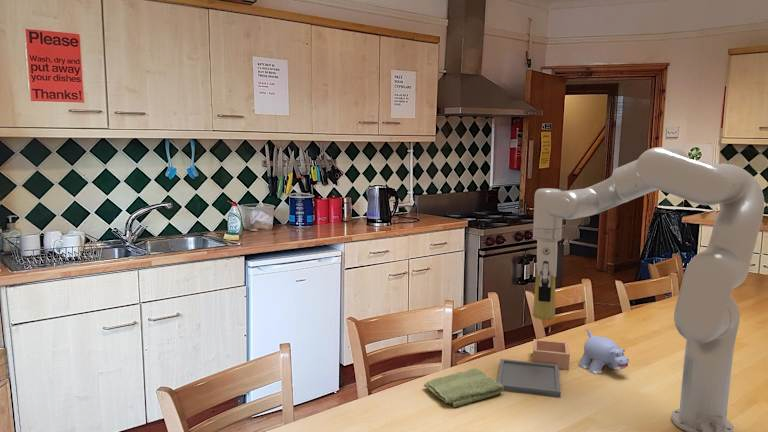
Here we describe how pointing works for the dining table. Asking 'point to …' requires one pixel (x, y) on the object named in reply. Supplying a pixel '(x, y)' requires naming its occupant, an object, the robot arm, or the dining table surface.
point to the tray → (529, 377)
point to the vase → (544, 308)
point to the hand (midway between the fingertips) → (544, 297)
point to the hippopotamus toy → (602, 354)
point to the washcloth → (464, 387)
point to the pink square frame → (551, 353)
